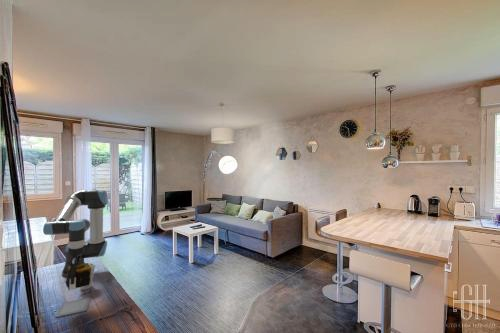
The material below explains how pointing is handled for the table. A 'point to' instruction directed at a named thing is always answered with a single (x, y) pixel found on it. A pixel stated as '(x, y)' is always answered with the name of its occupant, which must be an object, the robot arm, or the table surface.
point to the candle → (80, 275)
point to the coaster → (73, 307)
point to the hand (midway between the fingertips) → (75, 284)
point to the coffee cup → (90, 277)
